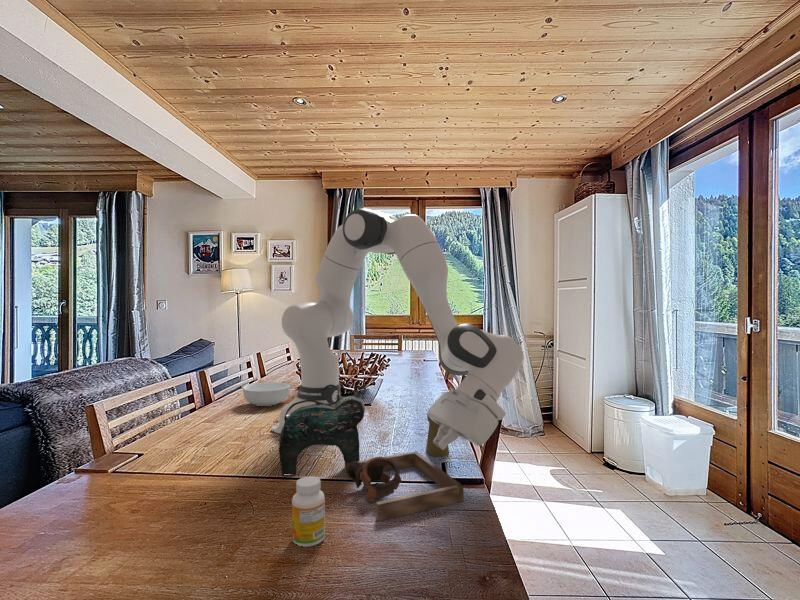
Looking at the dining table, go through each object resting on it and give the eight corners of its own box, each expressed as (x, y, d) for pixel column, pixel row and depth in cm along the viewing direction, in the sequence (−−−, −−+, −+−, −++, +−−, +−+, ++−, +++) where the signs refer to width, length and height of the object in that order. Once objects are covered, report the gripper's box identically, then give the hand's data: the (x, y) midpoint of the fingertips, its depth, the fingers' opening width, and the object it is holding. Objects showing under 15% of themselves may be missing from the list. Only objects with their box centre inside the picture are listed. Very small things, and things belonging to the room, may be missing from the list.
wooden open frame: (416, 463, 105) (416, 451, 105) (463, 501, 85) (463, 486, 85) (344, 476, 97) (344, 463, 97) (378, 521, 78) (378, 504, 78)
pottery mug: (402, 484, 94) (408, 459, 90) (390, 523, 86) (395, 497, 82) (351, 467, 96) (354, 441, 92) (334, 503, 88) (336, 477, 84)
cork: (448, 457, 109) (447, 413, 109) (424, 455, 110) (423, 412, 110) (450, 448, 115) (449, 407, 114) (427, 447, 116) (427, 406, 116)
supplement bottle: (295, 530, 75) (294, 475, 75) (326, 529, 76) (325, 473, 76) (289, 548, 70) (289, 488, 70) (323, 546, 70) (323, 487, 70)
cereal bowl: (263, 412, 152) (263, 392, 152) (233, 406, 161) (233, 387, 161) (299, 402, 166) (299, 384, 166) (270, 397, 175) (269, 379, 175)
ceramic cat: (364, 462, 106) (363, 380, 106) (367, 473, 99) (366, 386, 99) (280, 468, 102) (279, 384, 102) (277, 480, 96) (276, 390, 96)
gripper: (443, 380, 107) (408, 424, 104) (493, 397, 89) (452, 452, 85) (458, 396, 109) (424, 440, 105) (511, 416, 91) (472, 471, 87)
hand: (437, 446), depth 95 cm, fingers closed
